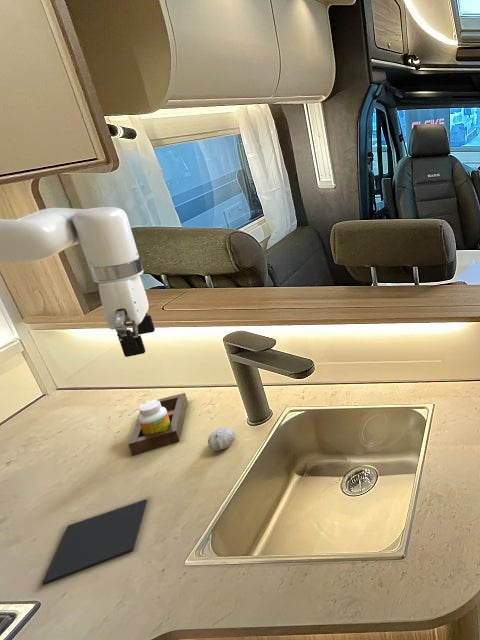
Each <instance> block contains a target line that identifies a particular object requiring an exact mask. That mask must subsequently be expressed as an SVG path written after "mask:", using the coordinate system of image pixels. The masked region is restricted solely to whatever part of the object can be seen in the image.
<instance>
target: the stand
mask: <svg viewBox="0 0 480 640" xmlns="http://www.w3.org/2000/svg"><path fill="white" fill-rule="evenodd" d="M157 400H158V401H160V403H161V407H164V408H166V410H167V413H168V416H169V420H170V423H171V425H170V429H168V430H165V431H161V432H157V433H154V434H150V435H147V436H144V435H143V432H142V429H141V426H140V423H139V420H138V418H139V416H140V413H139V414H138V417H137V420H136V422H135V425H134V427H133V430H132V434H131V436H130V438H129V441H128V448H129V451H130V454H131V456H137V455H139V454H142V453H143V454H144V453H146V452H150V451H154V450H156V449H160V448H164V447H166V446H170V445H173V444H177V443H180V440H181V436H182V432H183V428H184V424H185V419H186V413H187V410H188V405H189V401H188V397H187V394H186V392H183V393H178V394H174V395H170V396H166V397H163V398H157ZM144 403H145V402H143V403H142V404H144Z"/></svg>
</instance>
